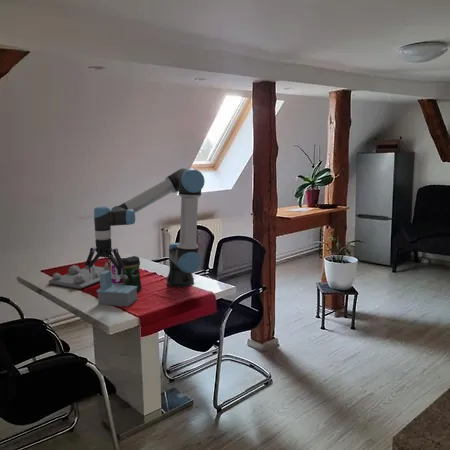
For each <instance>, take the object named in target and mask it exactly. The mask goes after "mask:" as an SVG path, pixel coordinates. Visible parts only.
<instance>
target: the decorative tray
mask: <svg viewBox="0 0 450 450" xmlns="http://www.w3.org/2000/svg"><path fill="white" fill-rule="evenodd" d="M93 266H95V279H94V280H91V273H89V266H86V265H85V266H84V268H80V267H79V265H75V264H73V265H72V266H69V268H68V269H67V271H68V272H67V273H65V274H64V275H62V274H60V273H58V272H55V273H53V274H52V278H51V279H49V280H48V284H49V285H52V286H53V285H55V286H60V287H65V288H72V289H76V290H82V289H85V288H87V287H89V286H92V285H94V284H95V285H96V284H97V283H100V273H102V272H103V271H105V270H108V271H109V269H108V262H106V263H104V266H96V265H95V264H94V265H93Z"/></svg>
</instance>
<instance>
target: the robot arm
mask: <svg viewBox="0 0 450 450" xmlns="http://www.w3.org/2000/svg"><path fill="white" fill-rule="evenodd" d="M204 185H205V177H204V175H203V173H202V172H201V171H200V170H198V169H195V168H192V167H191V168H189V167H182V168H180V169H177V170H176V171H174V172H172V173H171V174H169V175H167V176H165V179H164V180H163V181H160V182H159V183H157V184H156V185H153V186H152V187H150V188H148V189H146V190H144V191H143V192H141V193H138V194H137V195H135V196H133V197H132V198H131V199H128V200H126V201H124V202H123V203H121V204H120V205H115V206H113V207H112V208H110V207H109V206H96V207H95V208H94V209H93V221H94V237H95V246H93V247H89V253H88V256H87V258H86V260H85V263H84V265H85V266H89V273H91V280H94V279H95V266H96V265H95V264H96V262H97V261H98V259H99V258H107V259H109V261H111V262H112V263H113V264H114V265H115V267H116V269H115V271H116V282H118V281H120V275H121V268H122V267H124V266H125V265H124V263H123V261H122V259H123V258H121V255H120V253H119V250H118V249H119V248H117V247H115V248H112V238H111V237H112V231H111V229H112V227H114V226H129V225H134V224H135V223H136V213H137V212H140V211H141V210H143V209H146V208H147V207H148V206H150V205H152V204H154V203H155V202H157V201H159V200H161V199H163V198H165V197H166V196H168V195H170V194H172V193H173V194H175V193H177V192H178V196H180V198H181V200H180V201H181V202H180V203H181V204H180V224H179V226H180V229H179V242H174V243H170V244H169V245H168V260H169V263H168V264H169V271H168V274H167V278H166V285H167V286H170V287H174V288H182V287H183V288H184V287H185V288H186V287H189V286H192V285H194V283H195V278H194V276H193V273H194V272H196V271H197V270H198V269H199V268H200V266H201V263H202V260H201V259H202V258H201V256H200V255H199V253H200V252H199V245H198V244H197V227H198V210H199V209H198V208H199V207H198V206H199V204H198V203H199V198H200V197H201V196H202V190H203V188H204V187H205V186H204ZM111 226H112V227H111ZM95 252H96V254H95ZM112 253H113V254H112ZM94 254H95V256H94ZM93 265H95V266H93Z"/></svg>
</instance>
